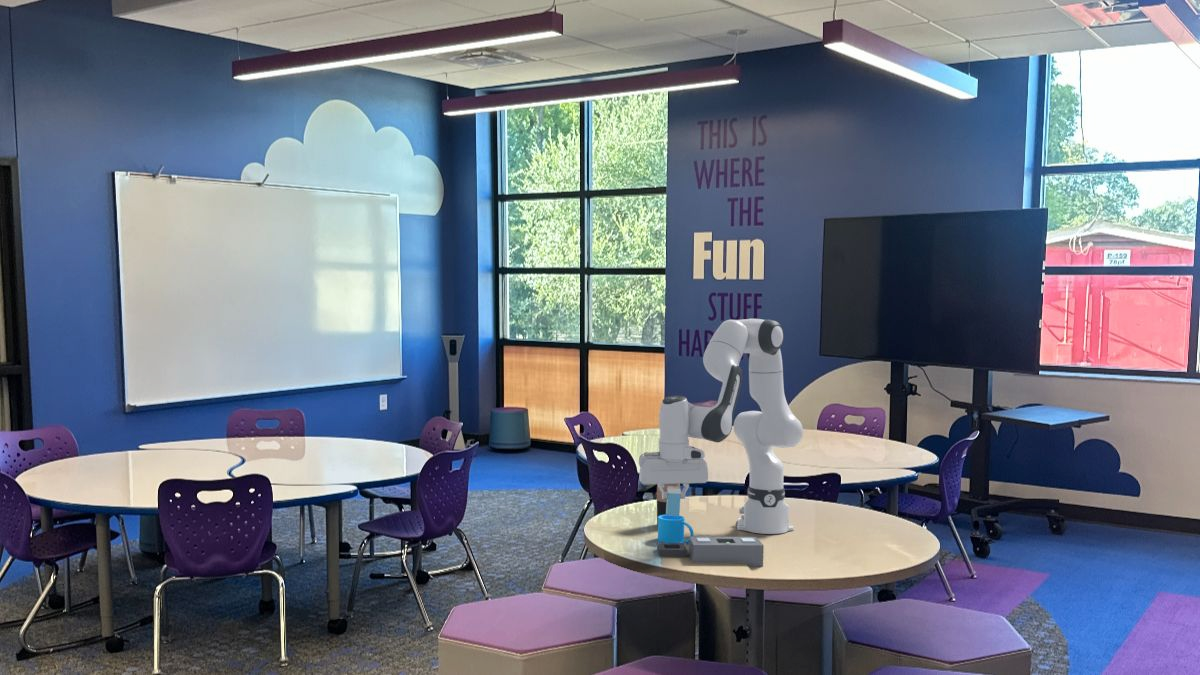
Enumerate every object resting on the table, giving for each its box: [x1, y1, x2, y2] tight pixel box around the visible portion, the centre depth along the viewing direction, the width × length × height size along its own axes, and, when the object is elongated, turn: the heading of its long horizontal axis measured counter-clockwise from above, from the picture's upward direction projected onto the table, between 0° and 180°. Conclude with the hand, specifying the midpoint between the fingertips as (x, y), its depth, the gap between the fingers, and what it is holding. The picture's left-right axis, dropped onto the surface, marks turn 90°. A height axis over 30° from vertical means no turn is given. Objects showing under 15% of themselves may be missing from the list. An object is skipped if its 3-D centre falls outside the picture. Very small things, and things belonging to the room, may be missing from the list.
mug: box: [657, 514, 694, 544], centre depth 299 cm, size 12×8×8 cm
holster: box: [656, 542, 688, 558], centre depth 284 cm, size 8×8×3 cm
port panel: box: [688, 535, 764, 567], centre depth 280 cm, size 10×20×6 cm, turn 92°
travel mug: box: [656, 484, 681, 527], centre depth 324 cm, size 8×8×20 cm
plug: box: [666, 486, 682, 516], centre depth 284 cm, size 4×4×8 cm
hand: (673, 498), depth 284 cm, fingers closed on plug, 4 cm apart
